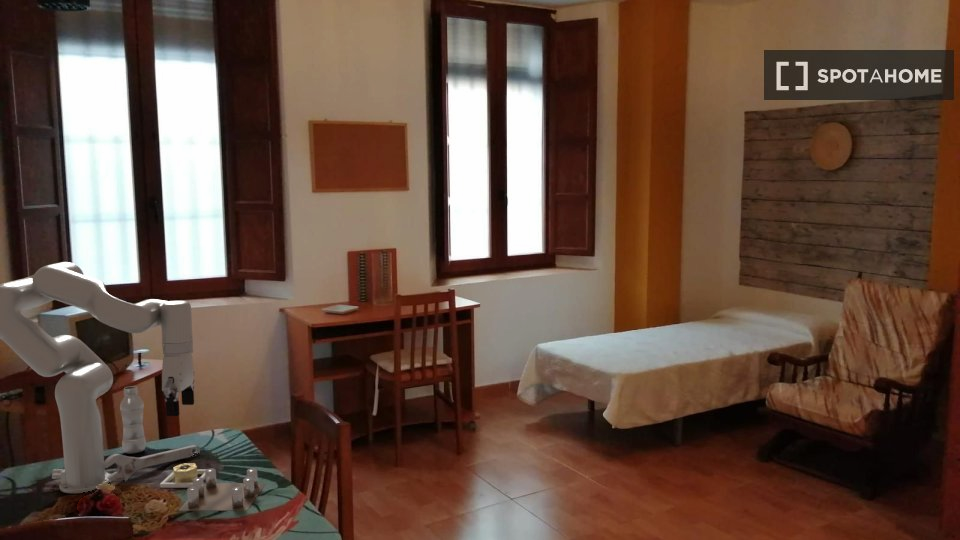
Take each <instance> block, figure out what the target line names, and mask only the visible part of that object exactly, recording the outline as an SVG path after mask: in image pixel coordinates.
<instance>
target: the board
mask: <svg viewBox="0 0 960 540" xmlns="http://www.w3.org/2000/svg"><path fill="white" fill-rule="evenodd" d="M266 485H267V482H258V487H256V488H254V493H255V496H254V497H252V498H244V486H243V482H216V487H215V488H212V489H207V488H206V482H204V497H202V498H199V507H197V508H194V509H190V508H188V499H187V500H186V501H185V502H184V503H183V504H182V505H181V506H180V508H178V510H177V511H179V512H181V511H183V512H184V511H185V512H187V511H188V512H189V511H192V512H193V511H194V512H198V511H199V512H200V511H201V512H202V511H203V512H204V511H205V512H207V511H208V512H209V511H212V512H213V511H219V512H220V511H222V512H225V511H226V512H228V511H230V512H231V511H233V512H234V511H237V512H238V511H244V512H245V511H248V509H249V508H250V507H251V506H252V504H253V503H254V501H255V500H256V499H257V497H258V496H259V494H260V493H261V492H262V491H263V489H264V487H265V486H266ZM234 487H242V491H243V507H241V508H238V509H235V508H232V492H231V489H232V488H234Z"/></svg>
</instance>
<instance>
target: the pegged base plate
mask: <svg viewBox="0 0 960 540" xmlns="http://www.w3.org/2000/svg"><path fill="white" fill-rule="evenodd" d="M205 478H206V479H205V482H204V481H203V478H201V476H200V477H198V478H195V479H193V482H192V483H193V487H191V488H187V489H186V494H187V500H188V508H190V509H194V508H197V507H199V498H202V497H204V483H206V488H207V489H212V488H215V487H216V483H217V471H216V468H207V470H205ZM242 483H243V486H244V498H252V497H254V496H255V493H254V488H256V487H258V483H259V482H258V469H257V468H256V467H255V468H254V467H252V468H248V469H247V470H246V477H244V478H243V479H242ZM231 492H232V508H235V509H238V508H241V507H243V491H242V487H234V488H232V489H231Z"/></svg>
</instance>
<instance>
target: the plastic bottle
mask: <svg viewBox="0 0 960 540" xmlns="http://www.w3.org/2000/svg"><path fill="white" fill-rule="evenodd" d="M138 394H139V391H138V387H137V386H133V385H132V386H126V387H124V388H123V396H124V397H123V399H122V400H121V401H120V405H119V409H120V414H121V418H122V420H121V421H122V429H123V431H122V432H123V433H122V442H121V448H122V450H123V453H126V454H130V455H131V454H138V453H142V452H143V451H145V448H146V446H147V440H146V437H145V430H144V425H143V420H144V419H143V418H144V407H145V406H144V405H145V404H144V403H145V402H144V401H143V400H142V398H141V397H140V396H139V395H138Z"/></svg>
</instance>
